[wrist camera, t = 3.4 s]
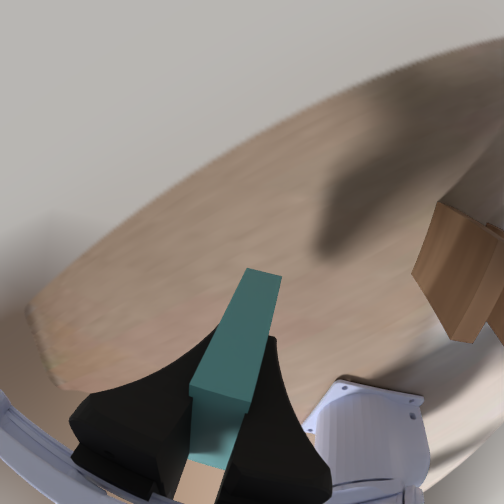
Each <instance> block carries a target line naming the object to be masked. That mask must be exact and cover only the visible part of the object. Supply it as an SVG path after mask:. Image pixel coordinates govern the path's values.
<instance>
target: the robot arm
mask: <svg viewBox="0 0 504 504" xmlns="http://www.w3.org/2000/svg"><path fill="white" fill-rule="evenodd" d="M218 325H219V324H218ZM217 327H218V326H217ZM217 327H216V328H215V329H214V330H213V331H212V332H211V333H210V334H209V335H208V336H207V337H205V338H204V339H203V340H202V341H201V342H200V343H198V344H197V345H196V346H195V347H194V348H192V349H191V350H190V351H188V352H187V353H186V354H184V355H183V356H181V357H180V358H179V359H177V360H176V361H174V362H173V363H171V364H169V365H168V366H166V367H164V368H162V369H161V370H159V371H157V372H155V373H153V374H151V375H149V376H147V377H144V378H142V379H140V380H137V381H134V382H132V383H129V384H126V385H123V386H120V387H117V388H114V389H110V390H105V391H101V392H97V393H92V394H90V395H89V396H88V397H87V398H86V399H85V400H84V401H83V402H82V403H81V404H80V405H79V406H78V407H77V409H76V410H75V412H74V413H73V414H72V415H71V417H70V418H69V424H70V426H71V429H72V430H73V432H74V434H75V436H76V437H77V439H78V441H79V442H80V443H79V445H78V446H77V448H76V449H75V451H72V450H70V449H69V448H67V447H66V446H64V445H63V444H61V443H60V442H59V441H57V440H56V439H54V438H53V437H51V436H50V435H49V434H47V433H46V432H44V431H43V430H41V429H40V428H39V427H38V426H37V425H35V424H34V423H33V422H31V421H30V420H29V419H27V418H26V417H25V416H24V415H23V414H22V413H20V412H19V411H18V410H17V409H16V408H14V407H13V406H12V405H11V402H10V401H9V399H8V397H7V396H6V395H5V393H4V392H3V391H2V390H1V389H0V458H1V459H2V460H3V461H4V462H5V463H6V464H7V465H8V466H10V467H11V468H12V469H13V470H14V471H15V472H16V473H17V474H18V475H20V476H21V477H22V478H23V479H24V480H26V481H27V482H28V483H29V484H30V485H32V486H33V487H34V488H35V489H37V490H38V491H39V492H41V493H42V494H43V495H45V496H46V497H47V498H49V499H50V500H51V501H53V502H55V503H56V504H127V503H124V502H122V501H120V500H117V499H115V498H113V497H110V496H108V495H107V493H106V491H105V490H107V491H109V492H111V493H113V494H115V495H117V496H119V497H121V498H123V499H125V500H127V501H129V502H132V503H134V504H183V503H180V502H177V501H174V500H173V498H174V495H175V492H176V489H177V486H178V484H179V481H180V478H181V475H182V472H183V469H184V467H185V464H186V461H187V458H188V456H189V450H190V433H191V418H192V404H193V397H191V396H189V384H190V382H191V380H192V378H193V376H194V374H195V372H196V370H197V368H198V366H199V364H200V362H201V360H202V358H203V356H204V354H205V352H206V350H207V348H208V346H209V344H210V342H211V339H212V337H213V335H214V333H215V331H216V329H217ZM343 386H345V387H343ZM423 402H424V397H423V396H418V395H412V394H406V393H401V392H396V391H390V390H385V389H380V388H376V387H371V386H366V385H362V384H357V383H353V382H349V381H345V380H337V381H335V382H334V383H333V384H332V386H331V387H330V389H329V390H328V391H327V393H326V394H325V395H324V397H323V398H322V399H321V401H320V402H319V403H318V405H317V406H316V407H315V408H314V410H313V411H312V412H311V414H310V415H309V416H308V417H307V419H306V420H305V421H304V422H303V424H302V425H300V423H299V421H298V419H297V417H296V414H295V412H294V410H293V408H292V405H291V403H290V400H289V398H288V395H287V392H286V389H285V386H284V382H283V379H282V375H281V370H280V366H279V361H278V354H277V339H276V338H275V337H273V336H269V335H268V338H267V342H266V346H265V351H264V355H263V358H262V362H261V366H260V370H259V374H258V378H257V382H256V386H255V390H254V393H253V397H252V401H251V404H250V407H249V411H248V414H247V413H245V415H244V418H243V420H242V423H241V426H240V429H239V432H238V435H237V438H236V441H235V444H234V447H233V449H232V452H231V455H230V458H229V461H228V463H227V466H226V469H225V473H224V476H223V479H222V482H221V485H220V488H219V491H218V494H217V497H216V500H215V503H214V504H425V502H424V496H423V492H422V489H420V488H419V487H420V486H421V484H422V483H423V482H424V480H425V478H426V476H427V473H428V470H429V466H430V450H429V445H428V441H427V436H426V432H425V427H424V423H423V419H422V415H421V411H420V406H421V404H422V403H423ZM305 432H308V433H313V434H315V448H314V446H313V445H312V443H311V442H310V440H309V439H308V437H307V435H306V433H305ZM97 485H98V486H97ZM99 486H100V487H101V488H100V487H99ZM102 488H103V489H105V490H103V489H102Z"/></svg>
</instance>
